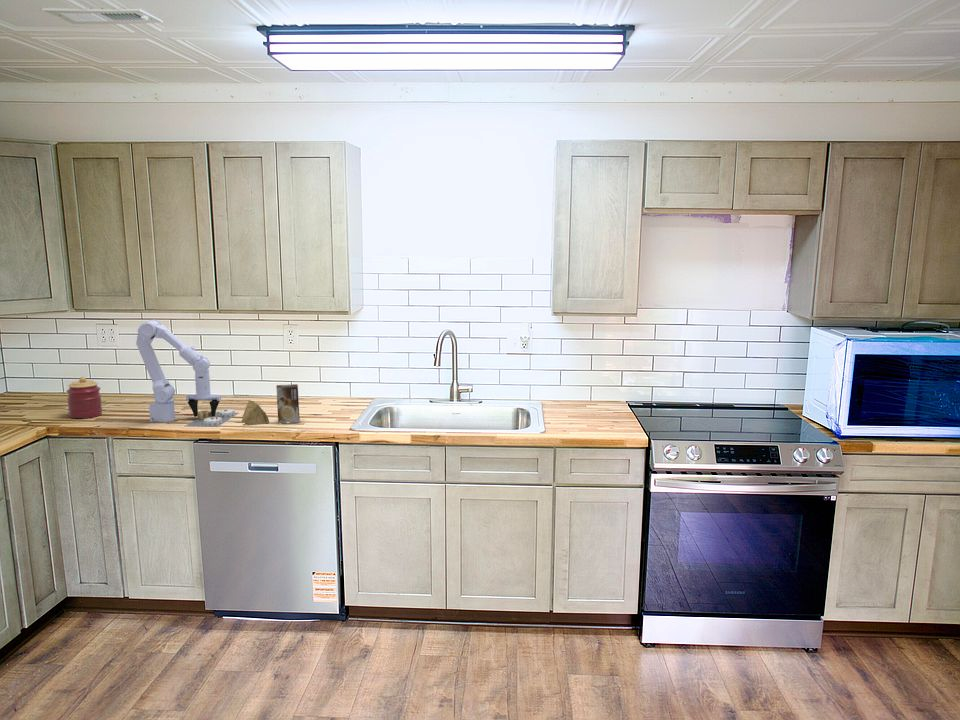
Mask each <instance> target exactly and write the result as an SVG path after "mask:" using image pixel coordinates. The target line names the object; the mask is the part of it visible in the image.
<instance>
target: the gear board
mask: <svg viewBox="0 0 960 720" xmlns="http://www.w3.org/2000/svg"><path fill="white" fill-rule="evenodd" d="M237 415H239V412H236V411H235V409H232V408H229V409H228V408H225V409H220V410H216V413H215V416H214V417H212V416H211V418H206V419H204V420H198V418H196V419H194V420H193V421H191V422H189V423H187V424H186V425H185V427H191V428H193V427H196V428H197V427H201V428H203V427H204V428H218V427H220V426H222V425H223V424H225V423H226V422H228V421H229V420H231V419H232V418H234V417H235V416H237Z"/></svg>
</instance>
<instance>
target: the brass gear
mask: <svg viewBox="0 0 960 720" xmlns="http://www.w3.org/2000/svg"><path fill="white" fill-rule="evenodd" d="M197 414H198V416H197V419H198V420H204V419H206V418H211V410H208V409H207V410H200V411H198V413H197Z"/></svg>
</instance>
